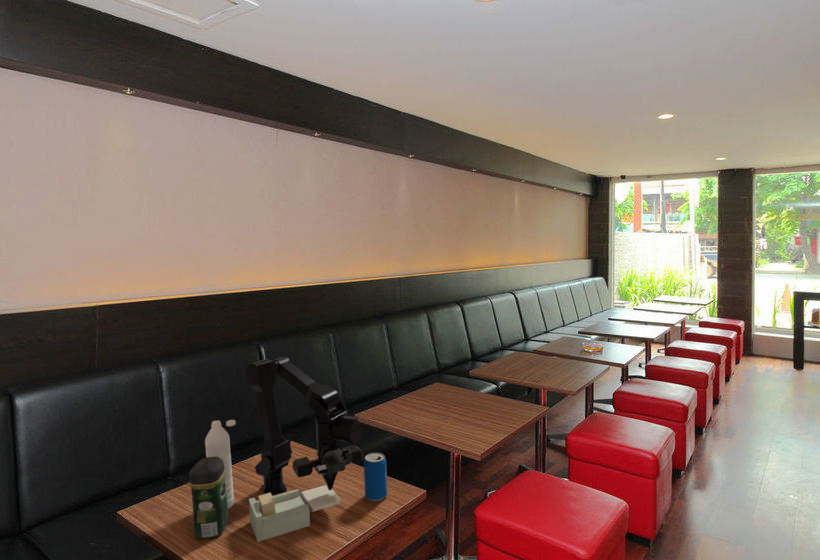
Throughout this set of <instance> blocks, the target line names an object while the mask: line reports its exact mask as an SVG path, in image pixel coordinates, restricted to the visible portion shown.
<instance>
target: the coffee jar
mask: <svg viewBox="0 0 820 560" xmlns="http://www.w3.org/2000/svg"><path fill="white" fill-rule="evenodd" d="M188 476H189V486H190V491H191V501H192V518H193V522H192V523H193V534H194V536H195V538H198V539H201V540H202V539H204V540H205V539H212V538H215V537H219V536H220V535H222V534H223V532H224V531H225V529H226V528H227V525H228V523H229V520H230V517H229V509H228V506H227V498H226V487H225V468H224V462H223V460H222V459H221V458H219V457H205V456H204V457H203V458H202V459H200V460H199V461H197V462H196V463H195V464H194V465H193V467H191V470H190V471H189V474H188Z"/></svg>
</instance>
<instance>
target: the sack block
mask: <svg viewBox="0 0 820 560" xmlns="http://www.w3.org/2000/svg"><path fill="white" fill-rule="evenodd" d="M272 496H273V495H271V493H267V494H264V493H263V494H261V495H258V500H259V509H260V512H261V514H262V518H263V517H266V516H269V515H273V514H276V512H275V501H274V499H273V497H272Z"/></svg>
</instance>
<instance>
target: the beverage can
mask: <svg viewBox="0 0 820 560" xmlns="http://www.w3.org/2000/svg"><path fill="white" fill-rule="evenodd" d="M387 472H388V471H387V459H386V457H385V455H384V454H383V453H382V452H370V453H368V454H367V455H365V456H364V459H363V475H364V476H363V477H364V496H365V498H367V499H368V500H370V501H372V502H380V501H382V500H383V499H384V498H386V497H387V496H388V479H387V478H388V474H387Z"/></svg>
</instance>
